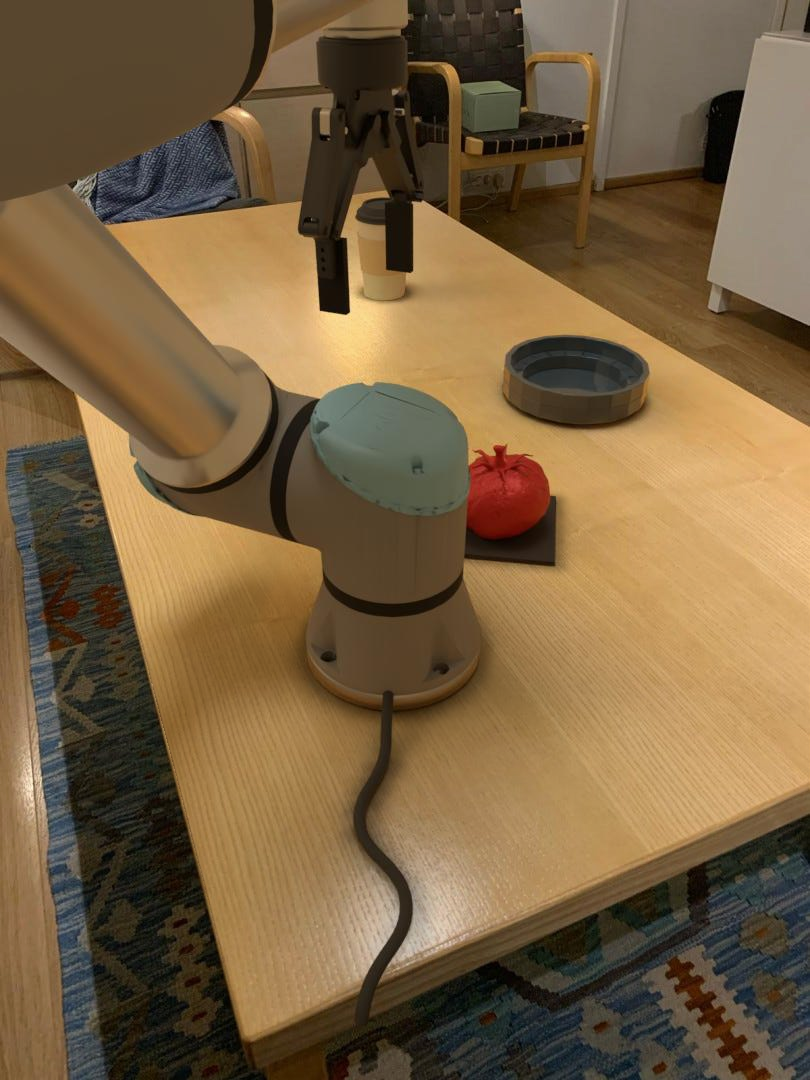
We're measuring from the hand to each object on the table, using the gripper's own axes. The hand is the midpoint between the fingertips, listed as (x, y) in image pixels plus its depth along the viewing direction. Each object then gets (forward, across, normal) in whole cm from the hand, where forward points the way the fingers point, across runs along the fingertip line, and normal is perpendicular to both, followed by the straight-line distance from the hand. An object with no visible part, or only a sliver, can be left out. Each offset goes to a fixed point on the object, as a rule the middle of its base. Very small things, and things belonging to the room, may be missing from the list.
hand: (369, 290), depth 83 cm
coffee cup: (+21, -57, -27) cm, 66 cm away
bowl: (+22, -34, +12) cm, 43 cm away
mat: (+24, -1, +14) cm, 27 cm away
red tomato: (+23, -1, +14) cm, 27 cm away
